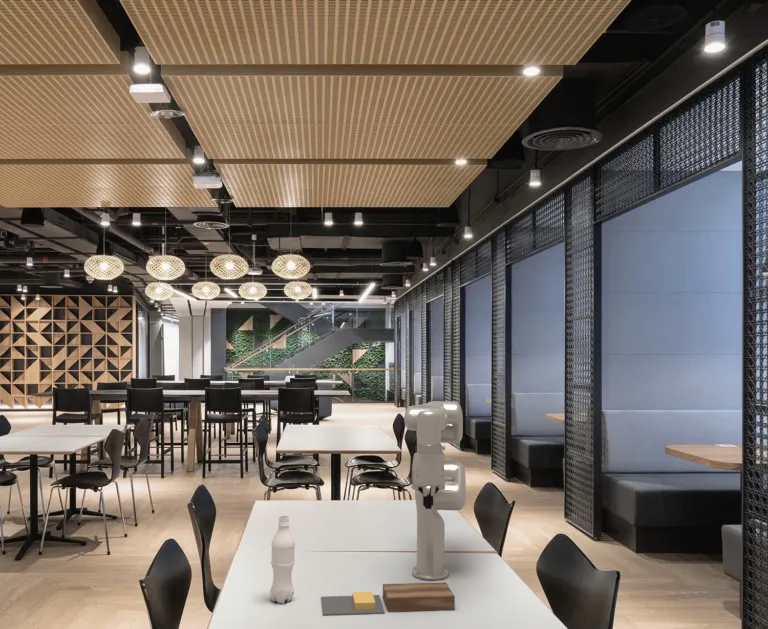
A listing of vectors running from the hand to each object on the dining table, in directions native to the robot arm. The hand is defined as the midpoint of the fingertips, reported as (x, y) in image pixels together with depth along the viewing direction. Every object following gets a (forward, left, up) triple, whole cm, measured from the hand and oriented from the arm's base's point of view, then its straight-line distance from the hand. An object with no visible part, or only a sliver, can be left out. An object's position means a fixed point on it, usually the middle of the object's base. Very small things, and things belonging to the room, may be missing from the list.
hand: (428, 508), depth 209 cm
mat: (+6, -24, -27) cm, 37 cm away
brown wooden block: (+6, -4, -27) cm, 28 cm away
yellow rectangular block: (+6, -21, -25) cm, 33 cm away
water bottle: (0, -45, -27) cm, 53 cm away
